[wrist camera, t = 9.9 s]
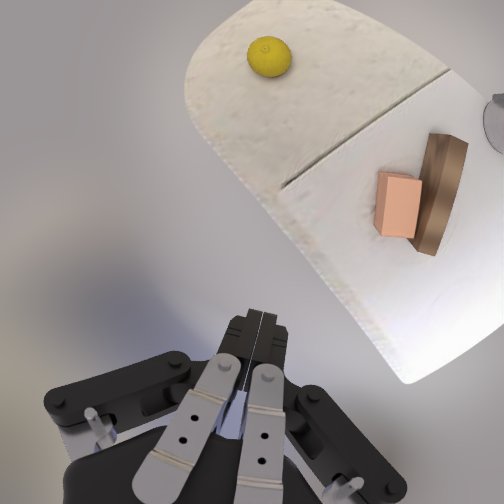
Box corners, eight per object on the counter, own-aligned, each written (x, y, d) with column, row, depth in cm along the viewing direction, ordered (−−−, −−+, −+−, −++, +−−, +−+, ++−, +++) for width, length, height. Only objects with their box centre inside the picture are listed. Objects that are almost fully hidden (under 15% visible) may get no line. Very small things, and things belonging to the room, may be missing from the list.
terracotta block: (378, 171, 37) (387, 176, 32) (409, 175, 36) (422, 181, 31) (373, 224, 40) (381, 235, 35) (403, 226, 39) (413, 238, 35)
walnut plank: (429, 133, 33) (450, 134, 26) (445, 140, 32) (468, 143, 26) (402, 233, 39) (417, 251, 33) (418, 238, 39) (434, 256, 33)
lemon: (247, 55, 33) (234, 38, 26) (284, 42, 31) (278, 22, 24) (261, 87, 35) (251, 76, 28) (299, 74, 33) (297, 60, 26)
